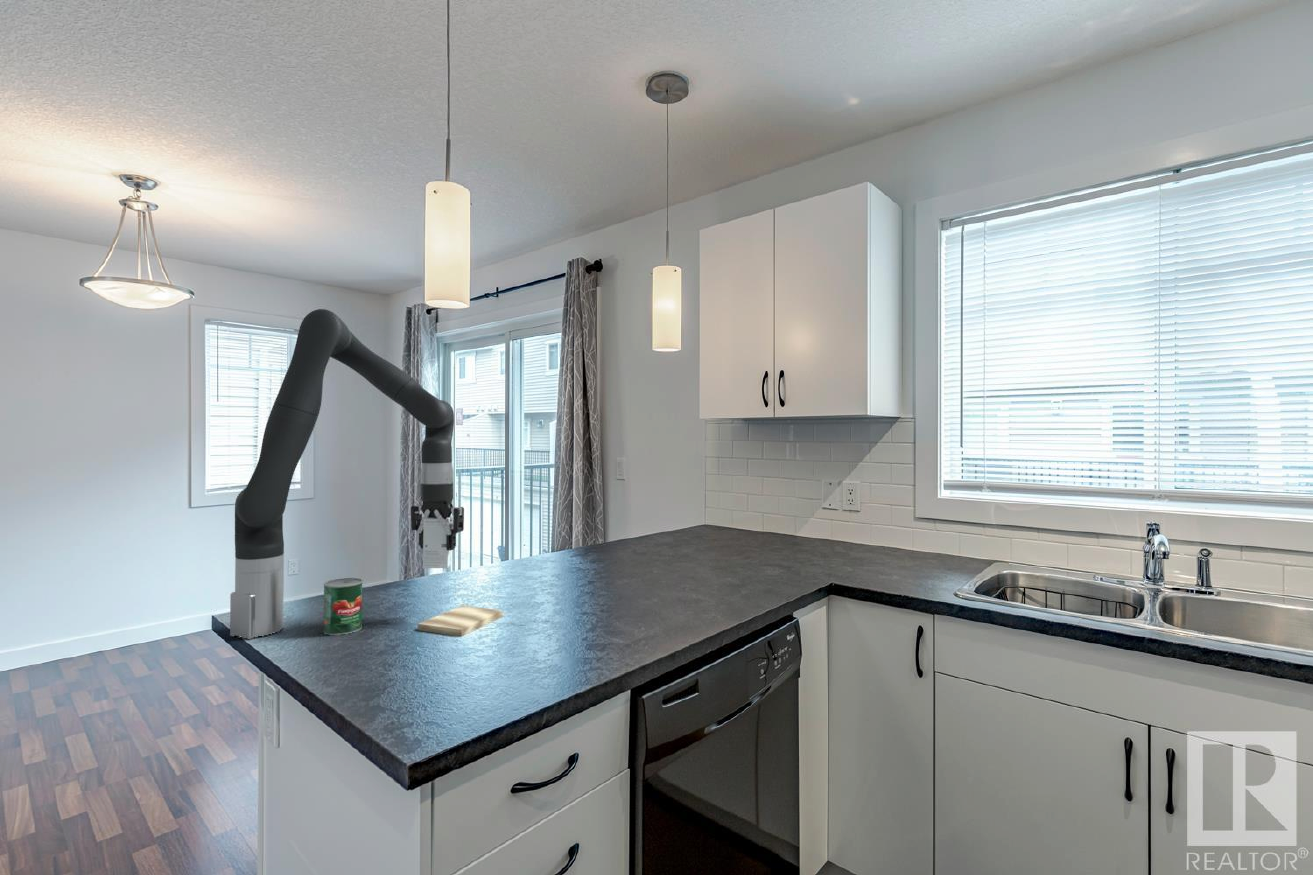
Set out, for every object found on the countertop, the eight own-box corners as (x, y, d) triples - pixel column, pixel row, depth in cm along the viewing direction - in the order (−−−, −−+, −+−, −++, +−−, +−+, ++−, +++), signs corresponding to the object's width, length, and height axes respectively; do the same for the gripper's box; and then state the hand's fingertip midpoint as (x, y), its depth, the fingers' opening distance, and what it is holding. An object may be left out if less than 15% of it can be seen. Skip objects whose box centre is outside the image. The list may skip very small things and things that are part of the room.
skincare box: (422, 569, 147) (421, 518, 147) (426, 565, 151) (425, 516, 151) (449, 568, 148) (448, 518, 148) (452, 564, 152) (451, 515, 152)
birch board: (461, 636, 137) (461, 629, 137) (417, 630, 141) (417, 623, 141) (502, 616, 152) (502, 610, 152) (462, 611, 156) (462, 605, 156)
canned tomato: (345, 636, 136) (346, 587, 136) (315, 634, 137) (315, 585, 137) (369, 625, 144) (369, 578, 143) (340, 623, 145) (340, 577, 145)
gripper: (401, 481, 148) (402, 550, 148) (452, 483, 143) (452, 553, 144) (423, 479, 155) (423, 544, 155) (471, 480, 150) (471, 547, 151)
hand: (437, 548), depth 149 cm, fingers closed on skincare box, 7 cm apart
